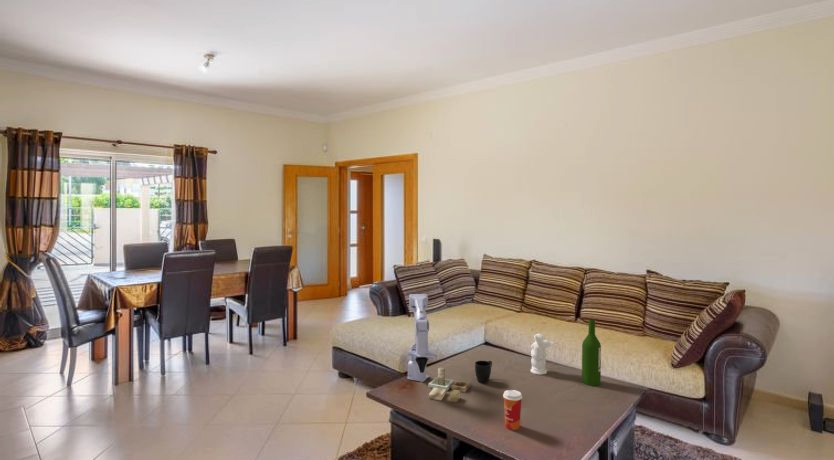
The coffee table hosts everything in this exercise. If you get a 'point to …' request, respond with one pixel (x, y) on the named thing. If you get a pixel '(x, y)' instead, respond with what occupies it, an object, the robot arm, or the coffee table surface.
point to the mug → (483, 371)
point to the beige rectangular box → (437, 394)
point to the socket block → (460, 386)
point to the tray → (435, 385)
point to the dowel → (441, 376)
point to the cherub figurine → (539, 354)
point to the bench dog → (455, 395)
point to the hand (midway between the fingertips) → (422, 372)
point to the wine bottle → (591, 357)
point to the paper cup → (512, 409)
